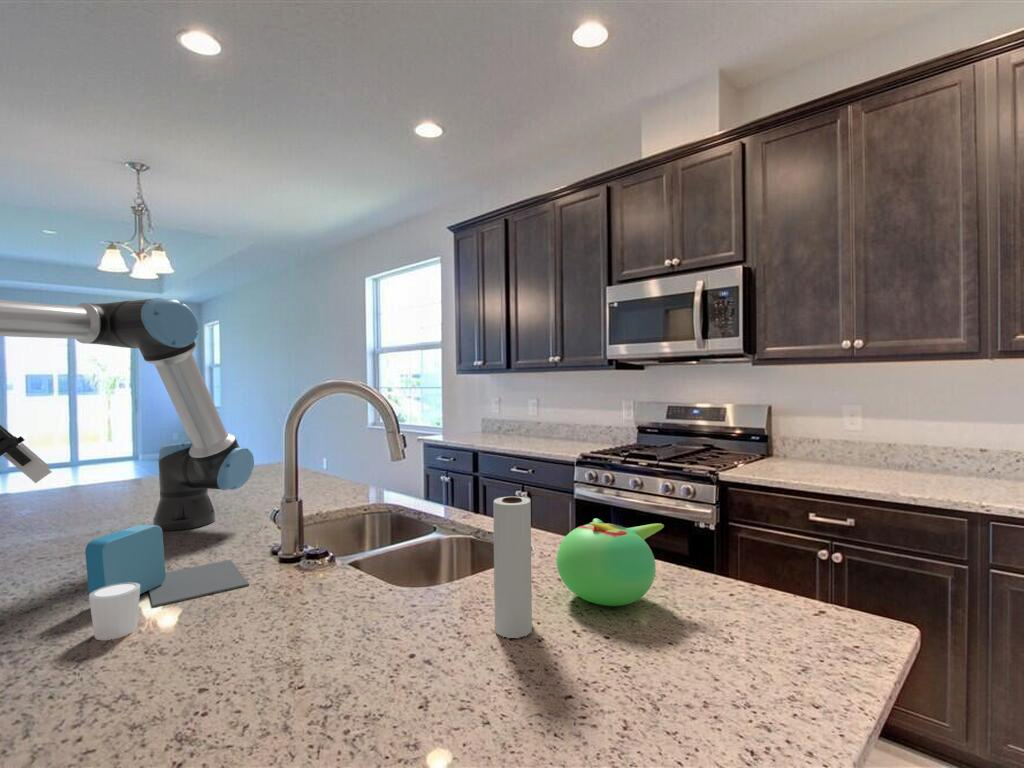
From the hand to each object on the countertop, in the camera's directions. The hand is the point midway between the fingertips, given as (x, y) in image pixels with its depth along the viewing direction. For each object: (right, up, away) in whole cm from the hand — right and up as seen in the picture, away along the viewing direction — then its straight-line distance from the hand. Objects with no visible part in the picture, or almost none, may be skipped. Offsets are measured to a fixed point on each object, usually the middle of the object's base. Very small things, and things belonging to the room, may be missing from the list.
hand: (43, 475), depth 98 cm
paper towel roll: (+85, -24, -10) cm, 89 cm away
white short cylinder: (+20, -24, -9) cm, 33 cm away
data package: (+12, -24, +6) cm, 27 cm away
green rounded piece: (+102, -23, +1) cm, 104 cm away
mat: (+20, -24, +12) cm, 34 cm away
